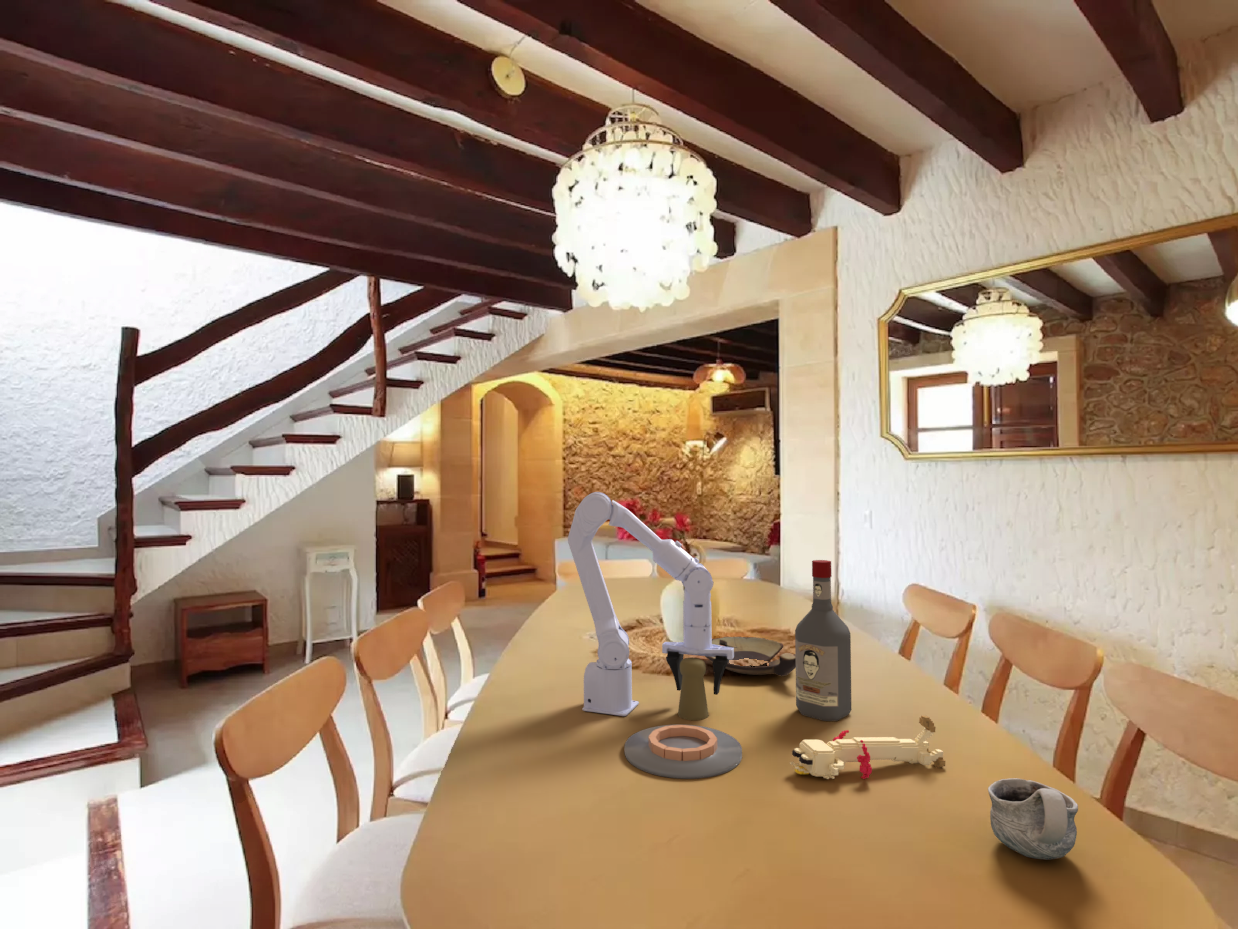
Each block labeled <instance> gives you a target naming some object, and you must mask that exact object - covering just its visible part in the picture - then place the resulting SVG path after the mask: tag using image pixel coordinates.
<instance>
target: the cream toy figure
mask: <svg viewBox="0 0 1238 929" xmlns="http://www.w3.org/2000/svg"><path fill="white" fill-rule="evenodd" d="M918 724H920V726H922V727H923V730H921V731H920V733H918V734H917V735H916V737H914V739H911V738H897V737H895V736H891V737H890V736H879V737H878V736H877V737H874V736H873V737H871V736H869V737H866V736H865V737H863V736H862V737H861V736H856V737H855V736H854V737H852V738H850V739H849V738H847V739H845V738H844V737H846V735H847V734H848V733H850V731H849V729H847V730H842V731H841V732H840V733H839V734H838V735H837V736H834V737H833V739H832V740H831V741H830V740H829V741H828V742H827V743H825V742H824V741H823V740H822V739H803V740H802V741H801V742H800V743H799V745H798V746H799V747H795V748H793V750H792V751H791V752H792V753H791V754H792V755H791V756H793V757H794V758H797V759H798V762H799V763H795V762H794V761H789V764H790V765H792V766H793V767H794V772H795V773H796V774H798V775H809V774H810V775H811V776H814V777H823V779H826V780H829V779H832V780H833V779H835V776H839V770H844V769H845V763H860V764H859V770H858V772H860V773H861V774H862V776H860V778H861V779H863V780H866V779H869V778H870V775H871V774H872V772H873V767H872V765H871V761H880V760H881V761H882V760H887V761H889V760H890V761H893V762H908V763H909V764H920V765H922V766H930V765H931V764H932V763H933V766H934V767H935V768H937V769H939V768H940V769H941V768H943V767H946V760H945V759H944V751H943V750H941V749H939V748H937V749H935V748H934V750H932V751H930V750H929V746H930V745H929V744H930V743H929V742H928V741H927V740H928V739H931V737H932V736H933V735H934V734H935V733H936V728H937V727H936V726H935V722H933V720H932V719H931V718H930V717H929V716H927V715H921V716H920V717H919V720H918Z"/></svg>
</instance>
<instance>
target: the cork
mask: <svg viewBox="0 0 1238 929" xmlns="http://www.w3.org/2000/svg"><path fill="white" fill-rule="evenodd" d="M706 670H707V665H706V662H705V661H704V660H703V659H702V658H699V657H686V658H683V660H682V661H681V663H680V672H681V674H682V684H681V690H680V693H679V702H678V711H677V714H678V715H677V716H678V717H680V718H681V719H684V720H687V721H688V720H689V721H702V720H705V719H707V718H708V717H709V709H708V702H707V695H706V688H705V680H704V676H705V674H706Z"/></svg>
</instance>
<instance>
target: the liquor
mask: <svg viewBox="0 0 1238 929" xmlns="http://www.w3.org/2000/svg"><path fill="white" fill-rule="evenodd" d="M811 576H812V604H811V609H810V610H809V611H808V612H807V614H806V615H805V616H803V618H802V619H801V620H800V621H799V622H798V623H797V624H796V628H795V630H794V633H795V634H794V638H795V639H794V640H795V642H794V643H795V646H794V647H795V652H794V654H795V656H796V668H795V705H796V708H797V709H798V711H799V713H800V714H801V715H802V716H805V717H809V718H813V719H815V720H816V719H817V720H820V721H824V722H838V721H839V720H841V719H843V718H845V717H847V716H850V713H851V712H852V709H853V708H852V659H851V658H852V657H851V656H852V652H851V651H852V650H851V649H852V648H851V646H852V645H851V643H852V642H851V640H852V639H851V631H850V629H849V627H848V626H847V624H846V623H845V622H844V620H842V618H841V617H840V616H839V615H838V614H837V613H836V612H835V611H834V607H833V603H832V583H831V582H832V581H831V578H832V560H827V559H826V560H825V559H824V560H823V559H814V560H812V561H811Z"/></svg>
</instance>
